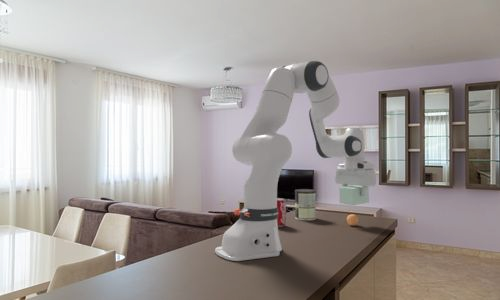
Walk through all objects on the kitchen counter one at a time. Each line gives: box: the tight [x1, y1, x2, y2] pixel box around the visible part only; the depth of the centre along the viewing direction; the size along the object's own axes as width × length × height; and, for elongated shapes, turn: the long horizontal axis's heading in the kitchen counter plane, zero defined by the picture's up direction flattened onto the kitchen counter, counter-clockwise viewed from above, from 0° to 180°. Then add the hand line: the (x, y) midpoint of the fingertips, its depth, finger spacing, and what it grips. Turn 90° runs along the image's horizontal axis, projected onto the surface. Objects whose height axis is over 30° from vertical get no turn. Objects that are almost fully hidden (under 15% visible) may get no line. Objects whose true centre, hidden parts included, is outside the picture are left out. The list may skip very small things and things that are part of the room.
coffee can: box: [294, 188, 317, 221], centre depth 169 cm, size 10×10×14 cm
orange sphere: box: [346, 214, 359, 227], centre depth 152 cm, size 5×5×5 cm
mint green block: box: [338, 185, 370, 206], centre depth 153 cm, size 11×7×7 cm
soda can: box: [277, 197, 287, 228], centre depth 152 cm, size 7×7×12 cm
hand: (354, 195), depth 153 cm, fingers closed on mint green block, 7 cm apart
